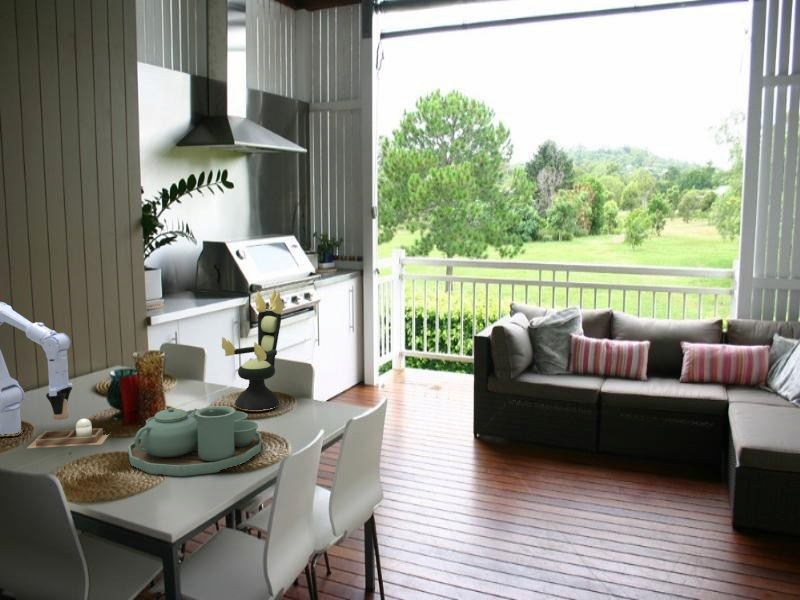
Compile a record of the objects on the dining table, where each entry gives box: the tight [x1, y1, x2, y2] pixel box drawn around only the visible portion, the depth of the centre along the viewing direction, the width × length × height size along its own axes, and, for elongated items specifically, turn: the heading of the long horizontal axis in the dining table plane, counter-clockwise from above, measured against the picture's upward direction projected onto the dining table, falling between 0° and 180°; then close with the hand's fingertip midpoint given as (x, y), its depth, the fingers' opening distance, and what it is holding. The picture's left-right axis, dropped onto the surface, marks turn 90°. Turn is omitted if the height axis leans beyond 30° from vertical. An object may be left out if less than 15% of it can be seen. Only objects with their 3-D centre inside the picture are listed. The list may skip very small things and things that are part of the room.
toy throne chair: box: [221, 288, 284, 410], centre depth 254 cm, size 19×22×45 cm
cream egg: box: [75, 418, 93, 437], centre depth 215 cm, size 5×5×7 cm
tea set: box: [127, 405, 262, 477], centre depth 205 cm, size 40×40×16 cm
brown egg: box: [52, 398, 70, 421], centre depth 216 cm, size 5×5×7 cm
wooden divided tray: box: [25, 427, 110, 449], centre depth 214 cm, size 22×13×2 cm, turn 101°
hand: (60, 411), depth 216 cm, fingers closed on brown egg, 5 cm apart
